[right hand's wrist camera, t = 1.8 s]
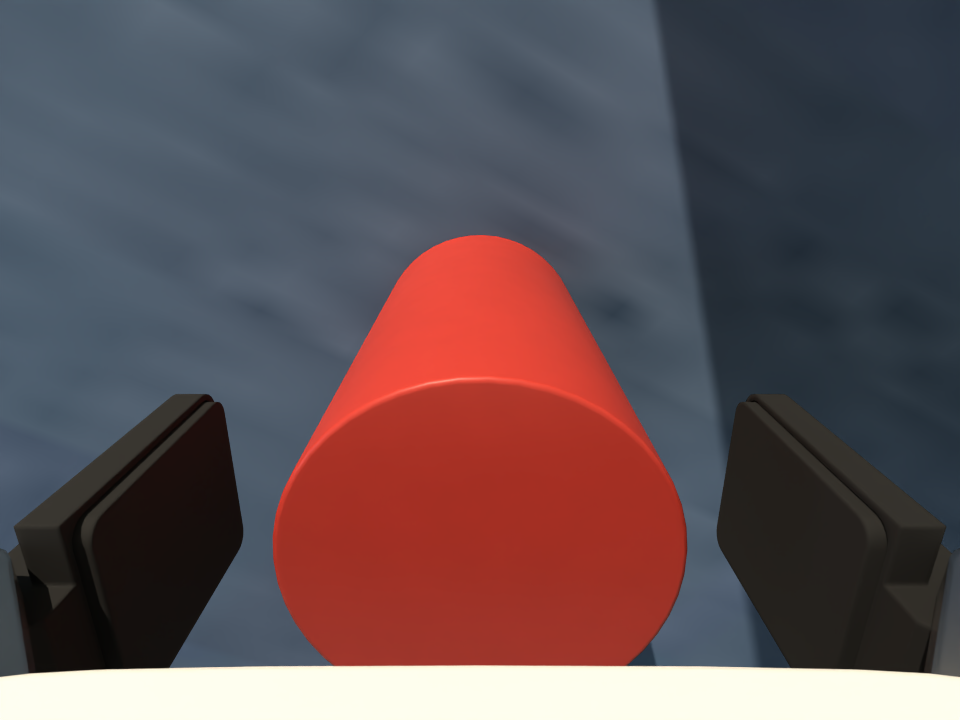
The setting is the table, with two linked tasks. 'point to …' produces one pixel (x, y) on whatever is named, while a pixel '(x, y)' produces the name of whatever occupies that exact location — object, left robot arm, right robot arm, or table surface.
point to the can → (479, 484)
